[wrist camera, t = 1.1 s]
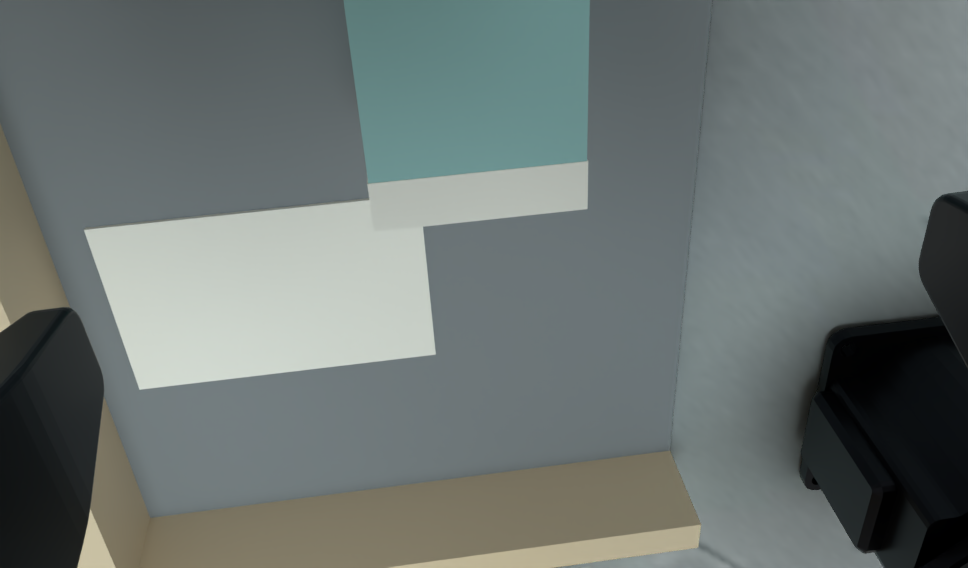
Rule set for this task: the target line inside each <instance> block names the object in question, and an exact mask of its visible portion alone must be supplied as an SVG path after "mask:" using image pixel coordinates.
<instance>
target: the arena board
mask: <svg viewBox="0 0 968 568" xmlns="http://www.w3.org/2000/svg"><path fill="white" fill-rule="evenodd" d="M712 2H713V0H590V17H589V75H588V134H587V160H588V208H587V209H584V210H575V211H565V212H556V213H547V214H537V215H528V216H519V217H509V218H500V219H491V220H481V221H472V222H463V223H453V224H444V225H435V226H425V227H416V228H407V229H397V230H388V231H379V232H374V230H373V222H372V215H371V208H370V200H369V193H368V186H367V170H366V162H365V155H364V148H363V140H362V133H361V126H360V118H359V111H358V104H357V96H356V89H355V82H354V74H353V67H352V60H351V52H350V45H349V38H348V30H347V23H346V16H345V8H344V1H343V0H0V332H1V331H3V330H4V329H6V328H7V327H8V326H10V325H11V324H13V323H14V322H15V321H17V320H18V319H20V318H21V317H22V316H24V315H25V314H27V313H29V312H32V311H36V310H44V309H52V308H60V307H69V308H72V309H73V310H75V311H76V312H77V314H78V315H79V316H80V318H81V320H82V322H83V325H84V327H85V330H86V332H87V335H88V337H89V340H90V342H91V345H92V347H93V350H94V352H95V355H96V357H97V360H98V362H99V365H100V367H101V370H102V374H103V378H104V399H103V408H102V416H101V425H100V433H99V441H98V450H97V458H96V467H95V475H94V484H93V492H92V500H91V507H90V513H89V520H88V525H87V529H86V534H85V538H84V543H83V547H82V551H81V555H80V559H79V563H78V567H77V568H555V567H562V566H570V565H577V564H584V563H591V562H598V561H606V560H613V559H620V558H627V557H634V556H642V555H649V554H656V553H663V552H671V551H678V550H685V549H692V548H698V545H699V537H700V529H701V523H700V521H699V518H698V516H697V514H696V511H695V509H694V507H693V504H692V502H691V499H690V497H689V495H688V492H687V490H686V488H685V485H684V483H683V480H682V478H681V476H680V473H679V471H678V469H677V466H676V464H675V461H674V459H673V457H672V454H671V452H670V445H671V434H672V424H673V413H674V403H675V392H676V382H677V371H678V361H679V350H680V339H681V329H682V318H683V308H684V297H685V287H686V276H687V266H688V255H689V244H690V234H691V223H692V213H693V202H694V192H695V181H696V171H697V160H698V149H699V139H700V128H701V118H702V107H703V97H704V86H705V76H706V65H707V54H708V44H709V33H710V23H711V12H712Z"/></svg>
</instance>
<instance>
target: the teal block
mask: <svg viewBox="0 0 968 568" xmlns="http://www.w3.org/2000/svg"><path fill="white" fill-rule="evenodd" d="M343 1H344V8H345V16H346V23H347V30H348V38H349V45H350V52H351V60H352V67H353V74H354V82H355V89H356V96H357V104H358V111H359V118H360V126H361V133H362V140H363V148H364V155H365V162H366V170H367V186H368V193H369V200H370V208H371V215H372V222H373V230H374V232H379V231H388V230H397V229H407V228H416V227H425V226H435V225H444V224H453V223H463V222H472V221H481V220H491V219H500V218H509V217H519V216H528V215H537V214H547V213H556V212H565V211H575V210H584V209H587V208H588V160H587V134H588V75H589V17H590V0H343Z"/></svg>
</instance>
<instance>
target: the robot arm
mask: <svg viewBox="0 0 968 568" xmlns="http://www.w3.org/2000/svg"><path fill="white" fill-rule="evenodd" d="M919 273H920V277H921V281H922V283H923V285H924V287H925V289H926V291H927V293H928V295H929V297H930V299H931V300H932V302H933V304H934V306H935V308H936V310H937V312H938V314H939V315H940V317H938V318H929V319H921V320H913V321H904V322H896V323H888V324H880V325H871V326H863V327H855V328H846V329H842V330H839V331H838V332H836V333H834V334H833V335H832V336H831V337H830V338H829V340H828V343H827V346H826V351H825V355H824V360H823V365H822V370H821V374H820V379H819V384H818V388H817V392H816V394H815V395H814V397H813V399H812V401H811V406H810V411H809V416H808V421H807V425H806V430H805V435H804V440H803V445H802V449H801V455H802V457H803V459H802V464H801V469H800V477H801V479H802V481H803V483H804V484H805V486H806V487H807V488H808V489H811V490H819V489H821V490H822V491H823V493H824V495H825V496H826V498H827V500H828V502H829V503H830V505H831V507H832V508H833V510H834V512H835V513H836V515H837V517H838V519H839V520H840V522H841V524H842V525H843V527H844V529H845V531H846V532H847V534H848V536H849V537H850V539H851V541H852V542H853V544H854V546H855V547H856V548H857V549H858V550H860V551H861V552H862V553H872V552H874V553H875V554H876V556H877V557H878V559H879V561H880V562H881V564H882V566H883V567H884V568H968V191H964V192H956V193H948V194H944V195H942V196H940V197H939V198H938V199H936V201H935V202H934V204H933V206H932V209H931V212H930V216H929V220H928V225H927V229H926V233H925V237H924V241H923V245H922V249H921V254H920V258H919ZM849 343H850V344H849ZM846 344H849V345H848V346H846V347H844V346H845V345H846ZM842 347H844V348H842ZM103 399H104V378H103V374H102V370H101V367H100V365H99V362H98V360H97V357H96V355H95V352H94V350H93V347H92V345H91V342H90V340H89V337H88V335H87V332H86V330H85V327H84V325H83V322H82V320H81V318H80V316H79V315H78V314H77V312H76V311H75V310H73V309H72V308H69V307H60V308H52V309H44V310H36V311H32V312H29V313H27V314H25V315H24V316H22V317H21V318H20V319H18V320H17V321H15V322H14V323H13V324H11V325H10V326H8V327H7V328H6V329H4V330H3V331H1V332H0V568H77V567H78V563H79V559H80V555H81V551H82V547H83V543H84V538H85V534H86V529H87V525H88V520H89V513H90V507H91V500H92V492H93V484H94V475H95V467H96V458H97V450H98V441H99V433H100V425H101V416H102V408H103Z"/></svg>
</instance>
